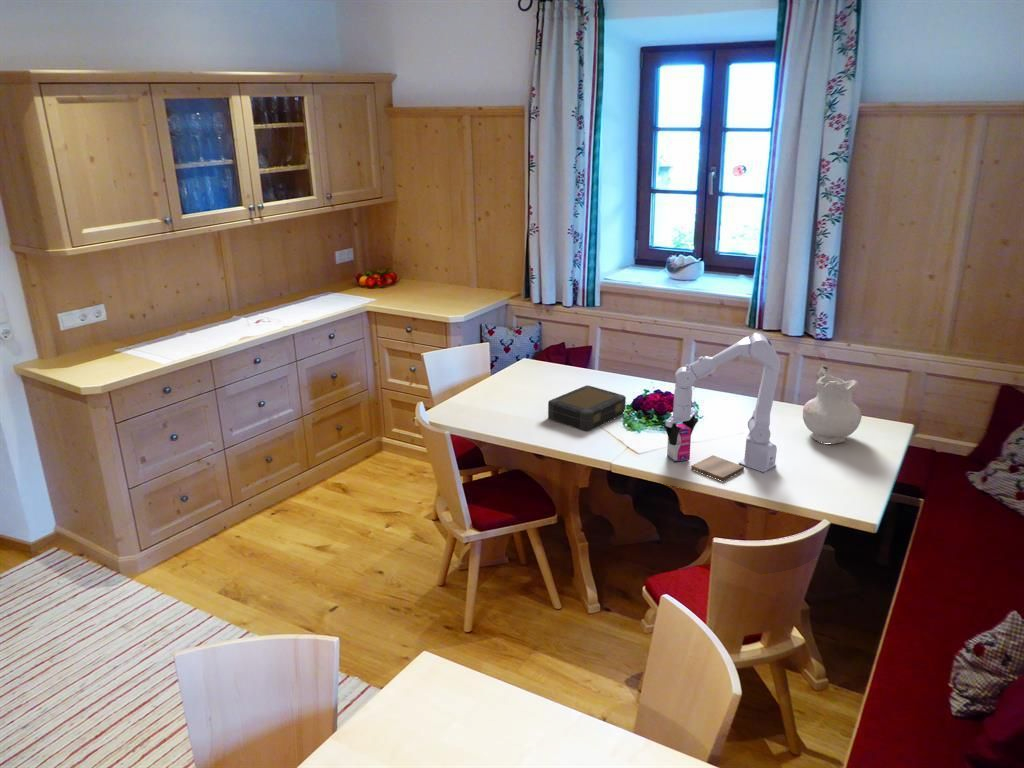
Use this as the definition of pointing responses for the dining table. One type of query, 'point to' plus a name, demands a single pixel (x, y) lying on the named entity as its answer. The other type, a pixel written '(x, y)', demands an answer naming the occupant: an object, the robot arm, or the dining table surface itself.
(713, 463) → the cardboard square
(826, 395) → the ceramic pitcher
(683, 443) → the supplement box
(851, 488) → the dining table surface
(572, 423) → the cash box
